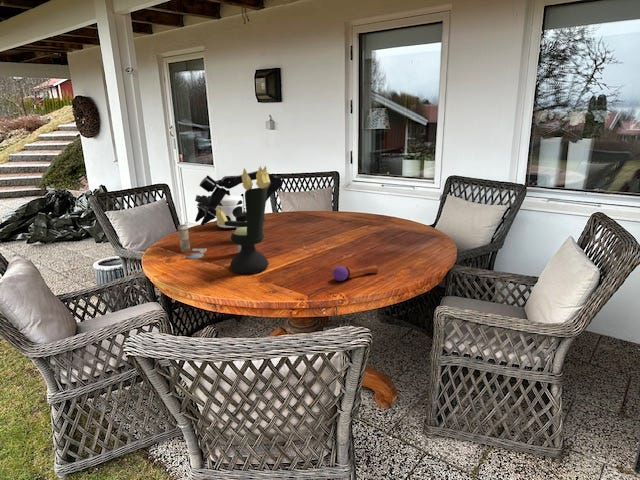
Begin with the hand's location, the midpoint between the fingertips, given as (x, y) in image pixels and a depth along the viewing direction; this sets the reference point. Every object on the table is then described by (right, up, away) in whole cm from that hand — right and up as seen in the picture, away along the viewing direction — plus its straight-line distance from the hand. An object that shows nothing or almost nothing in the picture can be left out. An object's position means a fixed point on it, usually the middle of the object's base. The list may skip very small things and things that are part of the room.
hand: (198, 223), depth 212 cm
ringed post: (-6, -14, 0) cm, 15 cm away
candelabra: (+32, -21, -28) cm, 48 cm away
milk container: (+8, -1, +44) cm, 44 cm away
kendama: (+75, -24, -40) cm, 89 cm away
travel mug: (+25, -15, -8) cm, 30 cm away
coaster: (+1, -16, -10) cm, 19 cm away
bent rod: (+1, -14, -2) cm, 14 cm away
